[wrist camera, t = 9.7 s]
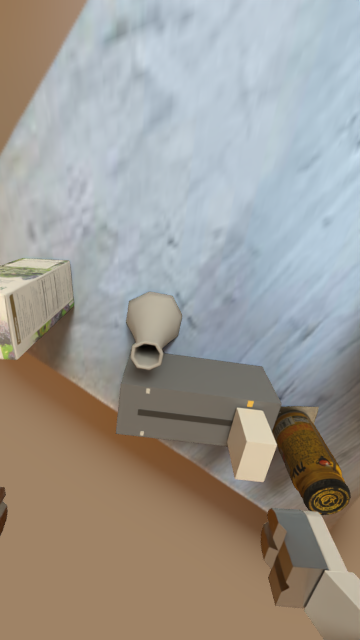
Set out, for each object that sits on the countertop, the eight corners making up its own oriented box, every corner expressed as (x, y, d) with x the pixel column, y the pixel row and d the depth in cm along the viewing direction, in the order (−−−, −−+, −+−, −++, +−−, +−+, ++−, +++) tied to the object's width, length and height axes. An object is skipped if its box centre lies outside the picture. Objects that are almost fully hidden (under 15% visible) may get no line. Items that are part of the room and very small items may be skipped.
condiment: (308, 444, 46) (350, 522, 35) (254, 443, 46) (279, 521, 35) (318, 405, 43) (367, 477, 32) (260, 404, 43) (290, 476, 32)
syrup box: (29, 303, 37) (-57, 363, 23) (21, 255, 34) (-78, 290, 21) (75, 305, 37) (16, 365, 23) (70, 257, 35) (3, 293, 21)
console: (126, 392, 42) (115, 433, 34) (131, 348, 39) (120, 383, 32) (249, 407, 43) (265, 451, 36) (262, 366, 40) (281, 404, 33)
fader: (227, 441, 35) (234, 478, 30) (236, 407, 33) (246, 441, 28) (251, 444, 35) (263, 482, 30) (262, 410, 33) (277, 445, 28)
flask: (185, 340, 39) (188, 383, 30) (131, 346, 39) (117, 391, 30) (178, 287, 36) (179, 316, 27) (120, 294, 36) (101, 326, 27)
